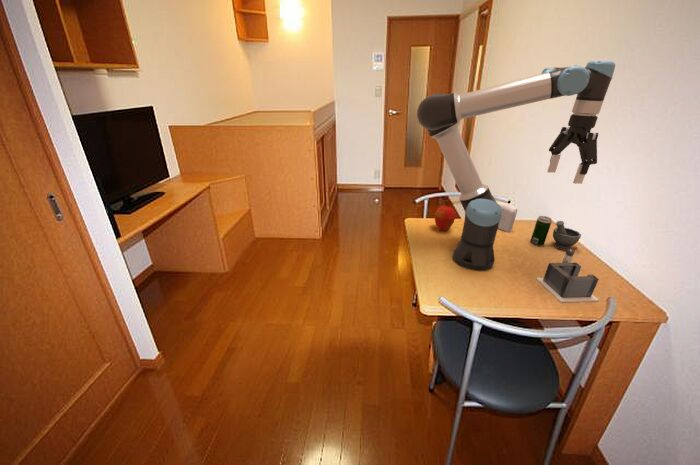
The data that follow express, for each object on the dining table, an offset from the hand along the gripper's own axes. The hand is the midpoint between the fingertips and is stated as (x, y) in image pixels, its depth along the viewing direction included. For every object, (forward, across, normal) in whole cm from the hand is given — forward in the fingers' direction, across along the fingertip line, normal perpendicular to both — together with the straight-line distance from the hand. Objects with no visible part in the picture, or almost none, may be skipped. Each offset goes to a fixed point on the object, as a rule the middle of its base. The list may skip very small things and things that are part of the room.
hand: (563, 177), depth 114 cm
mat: (+33, -22, +4) cm, 40 cm away
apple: (+33, +26, +30) cm, 52 cm away
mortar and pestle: (+33, +8, -16) cm, 37 cm away
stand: (+33, -10, -4) cm, 34 cm away
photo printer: (+33, +27, +1) cm, 43 cm away
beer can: (+33, +11, -7) cm, 35 cm away
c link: (+32, -22, +4) cm, 39 cm away
